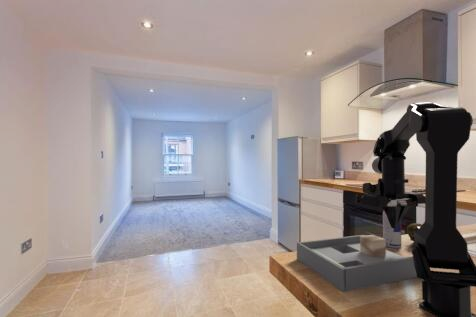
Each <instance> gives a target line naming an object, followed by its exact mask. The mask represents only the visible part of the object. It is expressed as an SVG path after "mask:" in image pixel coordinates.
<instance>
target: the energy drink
mask: <svg viewBox="0 0 476 317" xmlns="http://www.w3.org/2000/svg"><path fill="white" fill-rule="evenodd" d="M382 234H383V235H382V238H383V239H386V247H388V248H392V249H400V248H402V221H401V222H400V223H399V225H398V227H397V228H396V229H393V228H391V226H390V223H389V221H388V218H387V216H386V213H385V211H384V210H383V212H382Z"/></svg>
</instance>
